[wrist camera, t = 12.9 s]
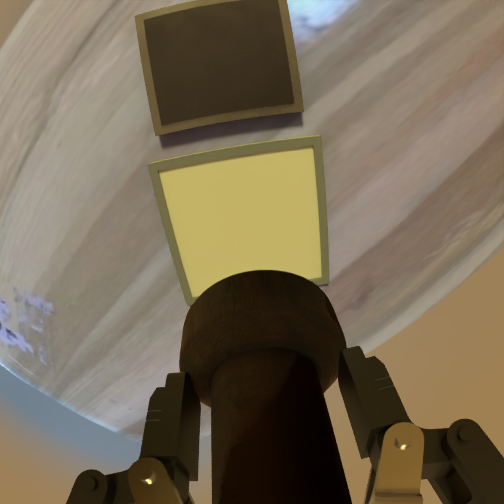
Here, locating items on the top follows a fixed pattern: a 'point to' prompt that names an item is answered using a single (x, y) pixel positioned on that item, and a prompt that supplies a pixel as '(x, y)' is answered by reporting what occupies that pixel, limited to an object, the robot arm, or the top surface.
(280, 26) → the ink pad
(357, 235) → the top surface
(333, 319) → the brown wooden stamp
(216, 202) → the print card
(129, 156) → the top surface
